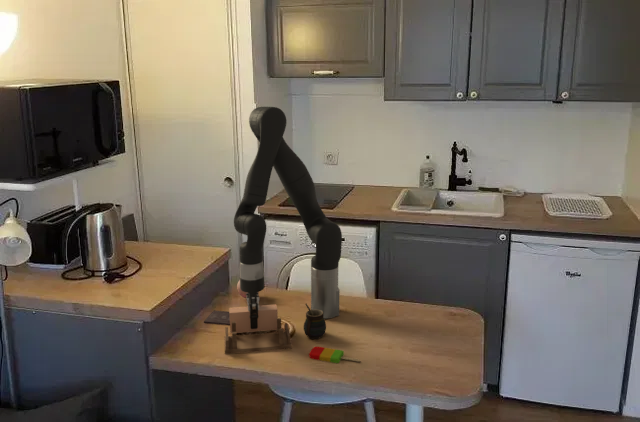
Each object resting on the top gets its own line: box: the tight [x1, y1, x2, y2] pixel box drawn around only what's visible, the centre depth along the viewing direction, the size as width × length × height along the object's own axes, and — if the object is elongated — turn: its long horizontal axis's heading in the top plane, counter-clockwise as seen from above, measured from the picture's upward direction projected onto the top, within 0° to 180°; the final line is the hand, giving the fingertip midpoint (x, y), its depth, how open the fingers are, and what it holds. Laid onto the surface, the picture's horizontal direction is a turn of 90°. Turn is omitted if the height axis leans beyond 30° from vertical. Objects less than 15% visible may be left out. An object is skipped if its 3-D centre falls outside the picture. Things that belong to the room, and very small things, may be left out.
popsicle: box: [308, 346, 361, 364], centre depth 174 cm, size 6×15×2 cm, turn 71°
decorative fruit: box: [236, 279, 260, 299], centre depth 214 cm, size 9×8×10 cm
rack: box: [224, 317, 293, 355], centre depth 181 cm, size 20×9×6 cm, turn 99°
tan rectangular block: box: [228, 303, 279, 335], centre depth 189 cm, size 15×4×7 cm, turn 100°
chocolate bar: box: [203, 309, 230, 326], centre depth 199 cm, size 9×1×18 cm
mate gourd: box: [303, 303, 327, 340], centre depth 187 cm, size 7×8×10 cm
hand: (253, 324), depth 190 cm, fingers closed on tan rectangular block, 4 cm apart
